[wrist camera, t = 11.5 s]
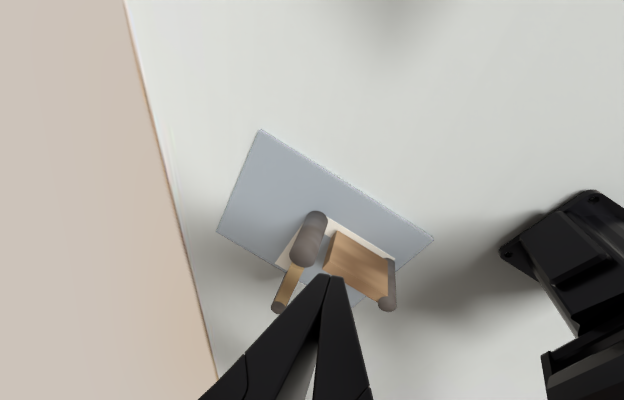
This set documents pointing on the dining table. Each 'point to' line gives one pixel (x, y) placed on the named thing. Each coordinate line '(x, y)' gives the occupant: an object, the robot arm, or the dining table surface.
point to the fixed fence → (346, 261)
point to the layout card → (299, 202)
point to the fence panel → (286, 288)
